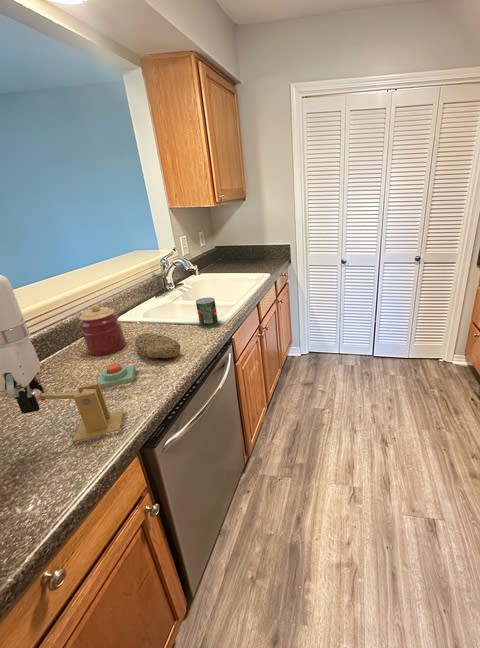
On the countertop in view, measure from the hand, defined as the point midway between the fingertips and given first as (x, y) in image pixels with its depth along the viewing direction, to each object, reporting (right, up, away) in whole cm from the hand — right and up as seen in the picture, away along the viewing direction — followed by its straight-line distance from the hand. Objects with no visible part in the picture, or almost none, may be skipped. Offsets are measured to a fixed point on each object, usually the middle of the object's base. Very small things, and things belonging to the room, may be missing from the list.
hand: (34, 405), depth 75 cm
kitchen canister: (-13, +9, +50) cm, 52 cm away
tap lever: (+5, 0, +2) cm, 5 cm away
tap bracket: (+11, -8, +7) cm, 15 cm away
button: (+3, +4, +26) cm, 27 cm away
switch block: (+4, 0, +28) cm, 28 cm away
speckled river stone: (+10, +7, +44) cm, 45 cm away
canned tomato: (+22, +18, +67) cm, 73 cm away
